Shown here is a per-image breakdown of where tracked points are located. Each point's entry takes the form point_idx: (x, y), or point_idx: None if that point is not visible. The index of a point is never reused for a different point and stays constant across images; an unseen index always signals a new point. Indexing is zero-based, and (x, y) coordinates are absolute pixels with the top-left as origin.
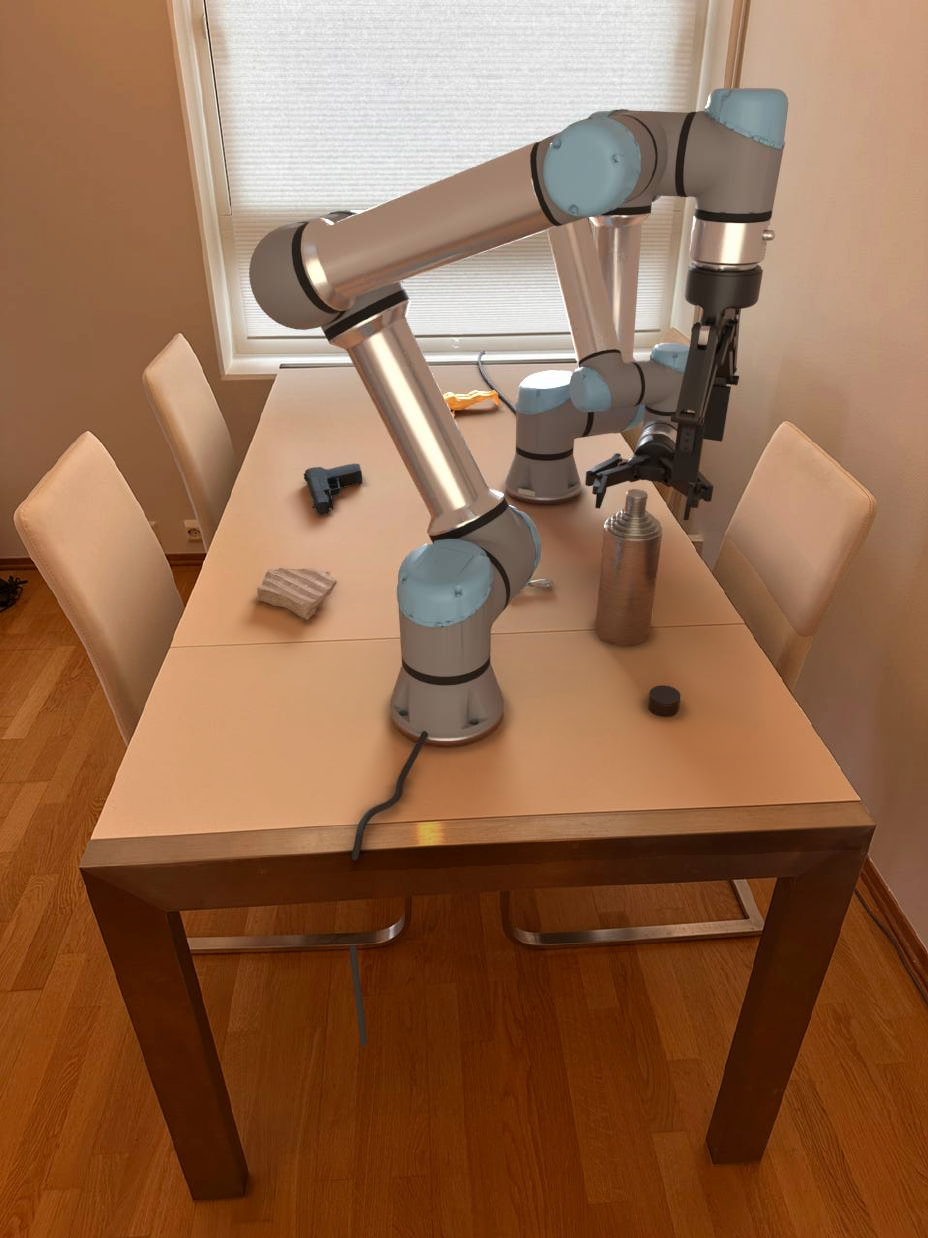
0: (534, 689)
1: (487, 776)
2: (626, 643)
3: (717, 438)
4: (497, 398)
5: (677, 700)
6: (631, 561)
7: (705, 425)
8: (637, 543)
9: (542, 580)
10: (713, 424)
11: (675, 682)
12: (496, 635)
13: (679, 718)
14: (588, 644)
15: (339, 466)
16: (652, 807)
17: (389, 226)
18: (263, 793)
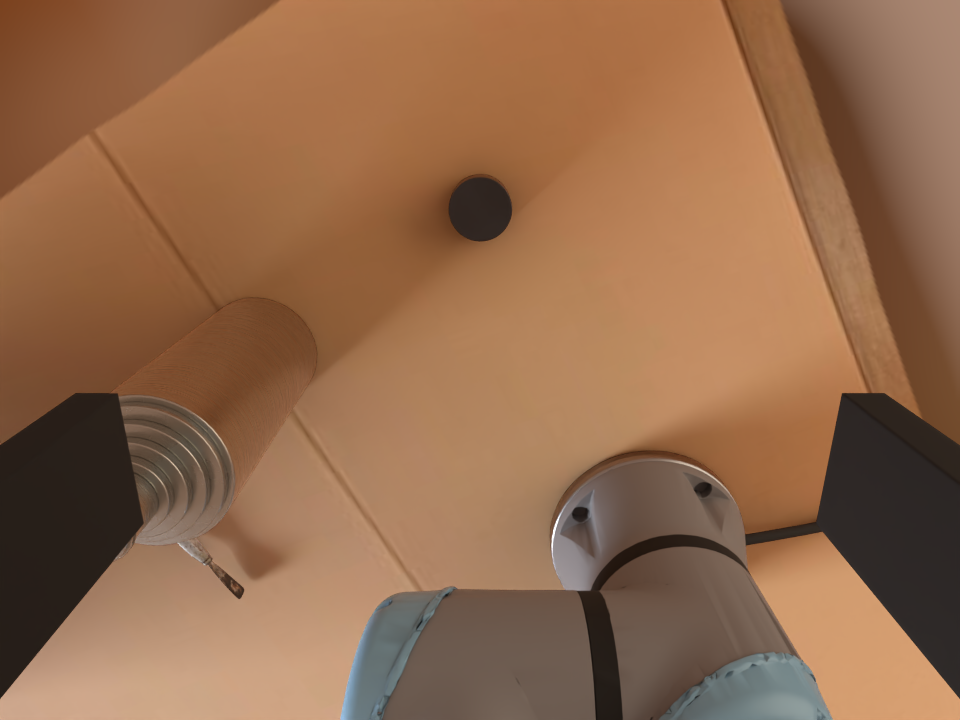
0: (524, 434)
1: (775, 419)
2: (307, 331)
3: (113, 427)
4: None
5: (490, 180)
6: (249, 420)
7: (92, 553)
8: (225, 436)
9: (188, 547)
10: (68, 514)
11: (385, 204)
12: (395, 547)
13: (500, 166)
14: (340, 396)
15: None
16: (770, 148)
17: None
18: (895, 657)
